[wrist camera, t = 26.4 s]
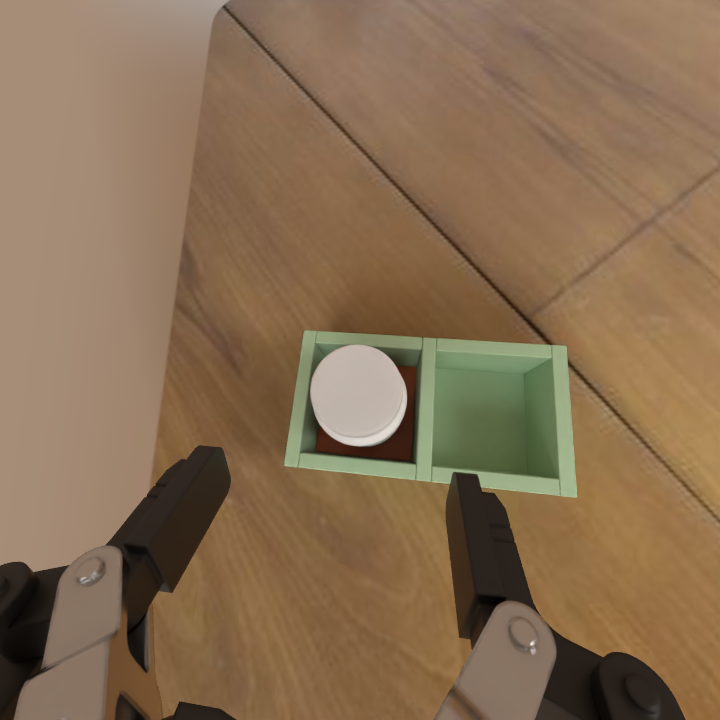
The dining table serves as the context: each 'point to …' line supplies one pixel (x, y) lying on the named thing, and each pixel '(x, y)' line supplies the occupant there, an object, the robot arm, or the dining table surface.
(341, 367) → the pill bottle
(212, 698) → the dining table surface
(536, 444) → the holder
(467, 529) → the robot arm
